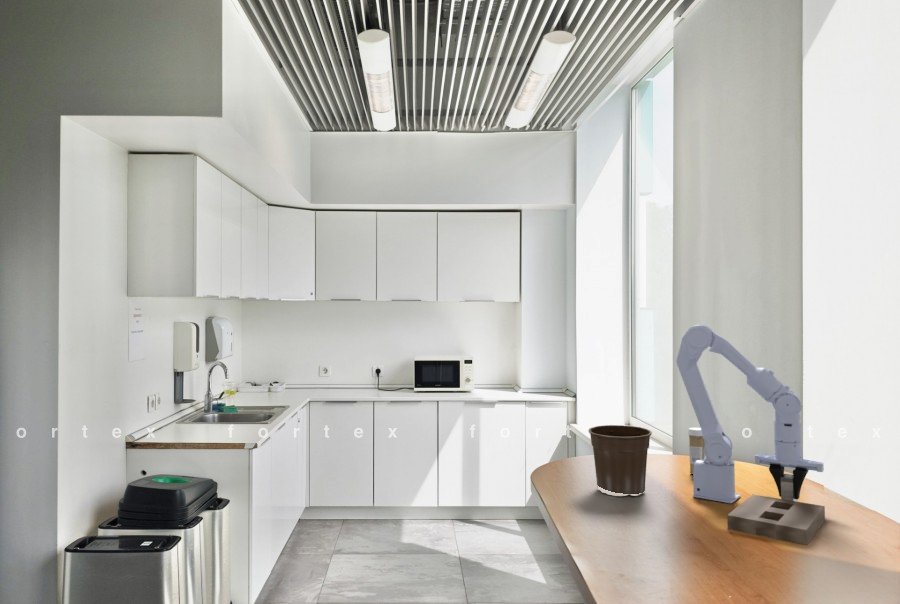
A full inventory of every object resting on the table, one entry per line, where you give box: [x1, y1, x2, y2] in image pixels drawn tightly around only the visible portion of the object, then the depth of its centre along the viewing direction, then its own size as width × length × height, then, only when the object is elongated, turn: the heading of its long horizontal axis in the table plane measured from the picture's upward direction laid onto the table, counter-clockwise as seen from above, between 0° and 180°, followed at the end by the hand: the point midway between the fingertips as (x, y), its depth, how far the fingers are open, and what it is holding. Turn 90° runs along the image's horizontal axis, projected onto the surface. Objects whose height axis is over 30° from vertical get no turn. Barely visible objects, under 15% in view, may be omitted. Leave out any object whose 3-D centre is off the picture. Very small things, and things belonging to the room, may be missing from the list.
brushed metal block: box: [780, 473, 798, 502], centre depth 147 cm, size 3×4×7 cm, turn 139°
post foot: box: [726, 494, 826, 546], centre depth 134 cm, size 15×20×3 cm
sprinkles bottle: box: [688, 427, 706, 475], centre depth 177 cm, size 5×5×14 cm
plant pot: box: [587, 424, 653, 494], centre depth 161 cm, size 16×16×16 cm
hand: (789, 497), depth 147 cm, fingers closed on brushed metal block, 3 cm apart
